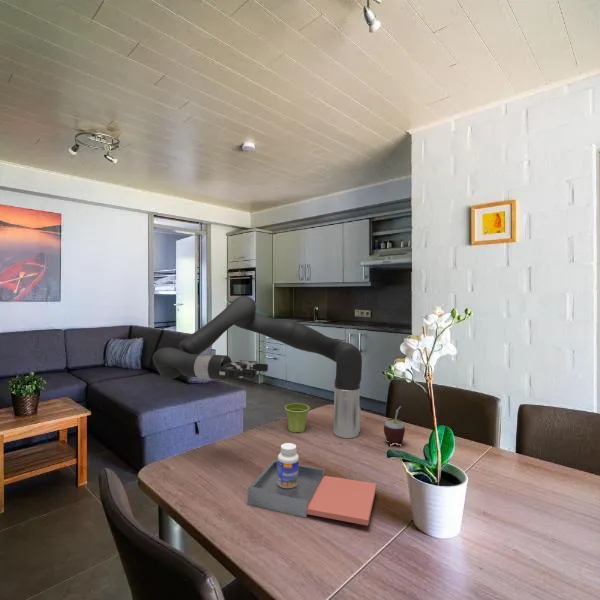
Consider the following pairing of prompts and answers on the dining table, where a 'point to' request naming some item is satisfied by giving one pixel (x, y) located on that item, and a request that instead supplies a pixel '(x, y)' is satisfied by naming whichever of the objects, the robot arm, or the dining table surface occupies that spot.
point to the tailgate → (343, 500)
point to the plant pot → (296, 416)
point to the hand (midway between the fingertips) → (261, 370)
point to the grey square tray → (285, 490)
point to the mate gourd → (394, 430)
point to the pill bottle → (287, 466)
